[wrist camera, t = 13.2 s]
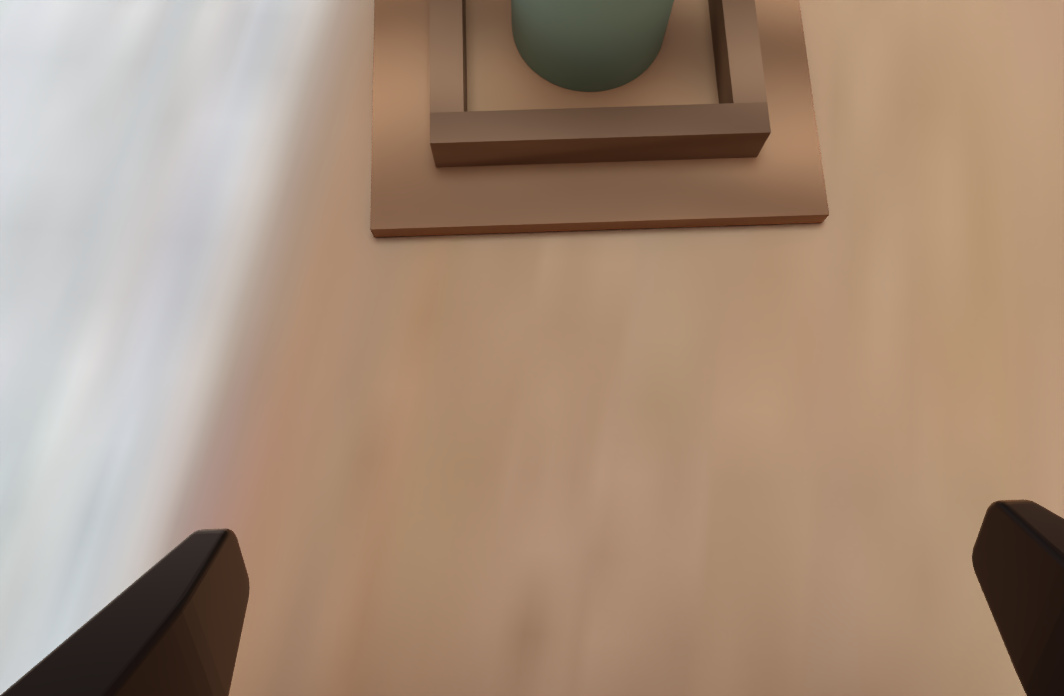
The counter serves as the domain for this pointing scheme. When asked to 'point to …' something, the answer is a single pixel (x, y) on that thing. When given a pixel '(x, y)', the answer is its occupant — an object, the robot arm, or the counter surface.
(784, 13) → the cradle board
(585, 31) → the green dome-top cylinder
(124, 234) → the counter surface
